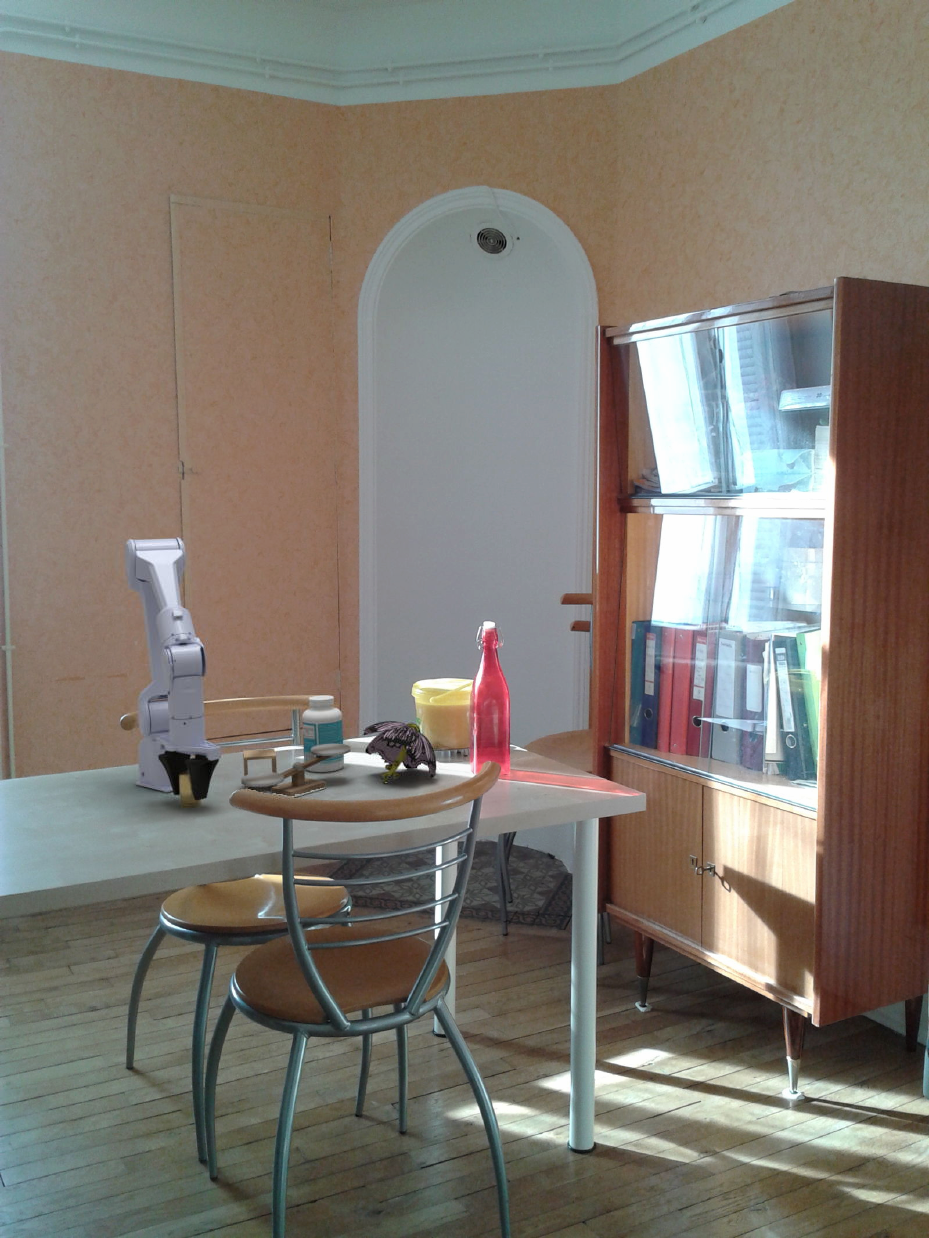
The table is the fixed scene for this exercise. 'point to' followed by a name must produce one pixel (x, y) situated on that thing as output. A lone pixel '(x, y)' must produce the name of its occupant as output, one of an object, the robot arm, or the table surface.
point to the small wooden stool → (259, 755)
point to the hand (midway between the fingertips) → (190, 796)
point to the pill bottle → (322, 731)
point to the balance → (296, 773)
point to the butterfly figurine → (401, 747)
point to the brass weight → (187, 791)
